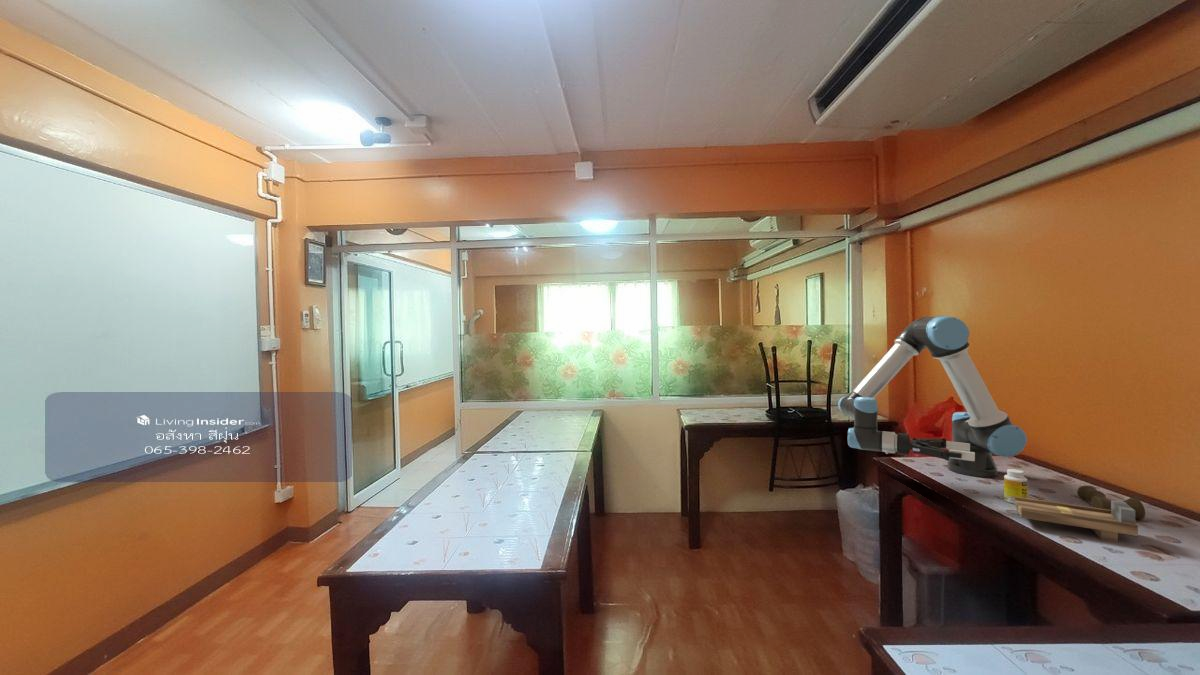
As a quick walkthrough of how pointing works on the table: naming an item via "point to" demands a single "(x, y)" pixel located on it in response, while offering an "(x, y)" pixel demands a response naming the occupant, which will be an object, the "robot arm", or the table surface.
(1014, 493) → the supplement bottle
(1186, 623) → the table surface
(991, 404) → the robot arm
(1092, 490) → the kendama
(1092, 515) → the wooden rack
